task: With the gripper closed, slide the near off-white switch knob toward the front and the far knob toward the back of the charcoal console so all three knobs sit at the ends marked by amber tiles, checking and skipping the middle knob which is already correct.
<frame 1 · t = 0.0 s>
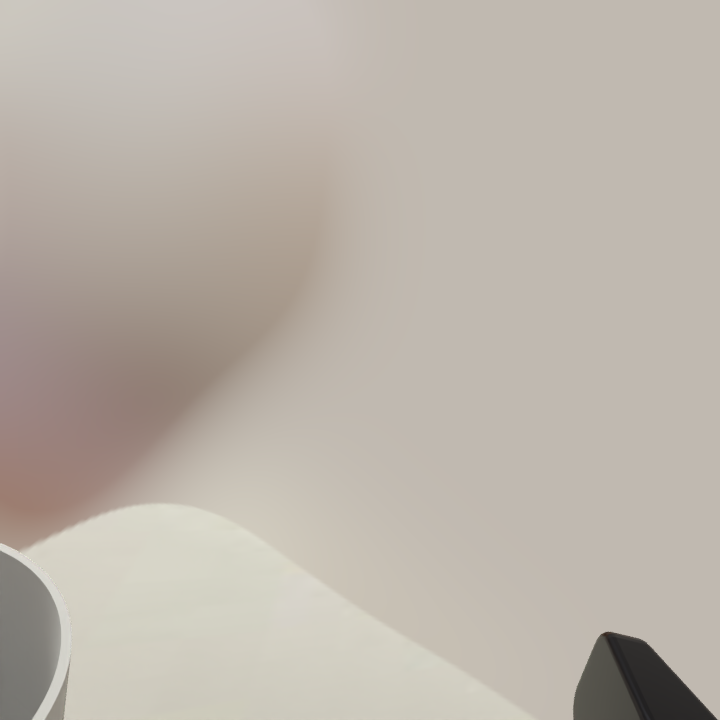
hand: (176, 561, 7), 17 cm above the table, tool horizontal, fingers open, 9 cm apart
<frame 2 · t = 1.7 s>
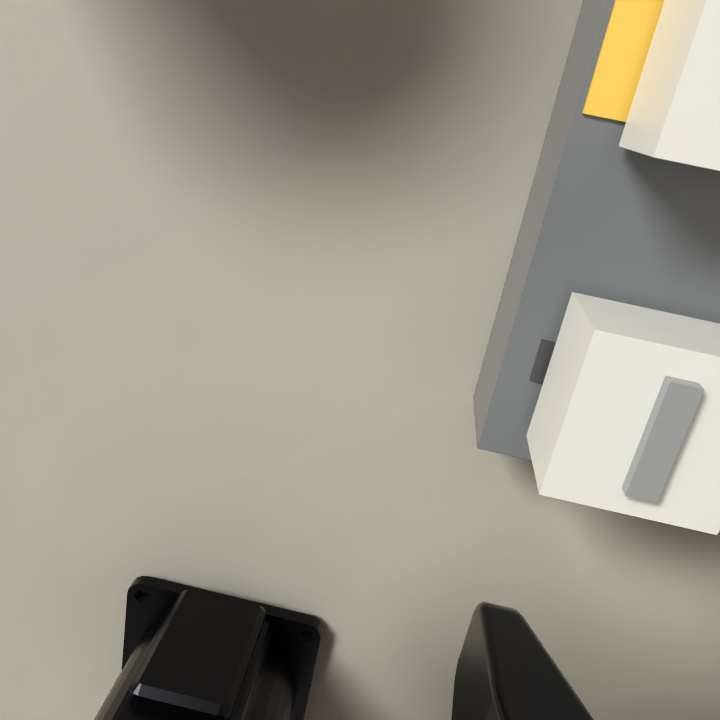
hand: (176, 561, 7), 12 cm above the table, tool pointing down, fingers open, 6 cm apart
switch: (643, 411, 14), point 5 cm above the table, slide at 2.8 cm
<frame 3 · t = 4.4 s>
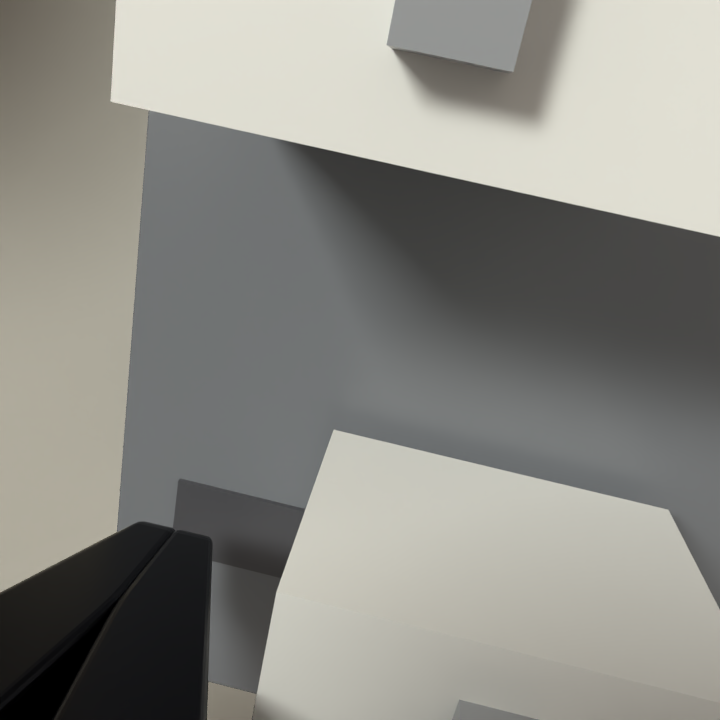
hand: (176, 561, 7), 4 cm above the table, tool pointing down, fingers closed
console: (705, 22, 8), on the table
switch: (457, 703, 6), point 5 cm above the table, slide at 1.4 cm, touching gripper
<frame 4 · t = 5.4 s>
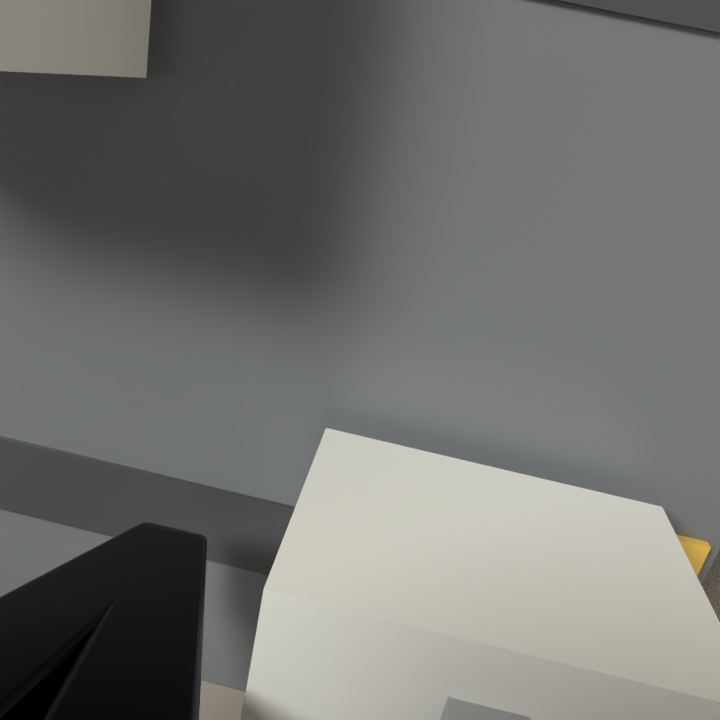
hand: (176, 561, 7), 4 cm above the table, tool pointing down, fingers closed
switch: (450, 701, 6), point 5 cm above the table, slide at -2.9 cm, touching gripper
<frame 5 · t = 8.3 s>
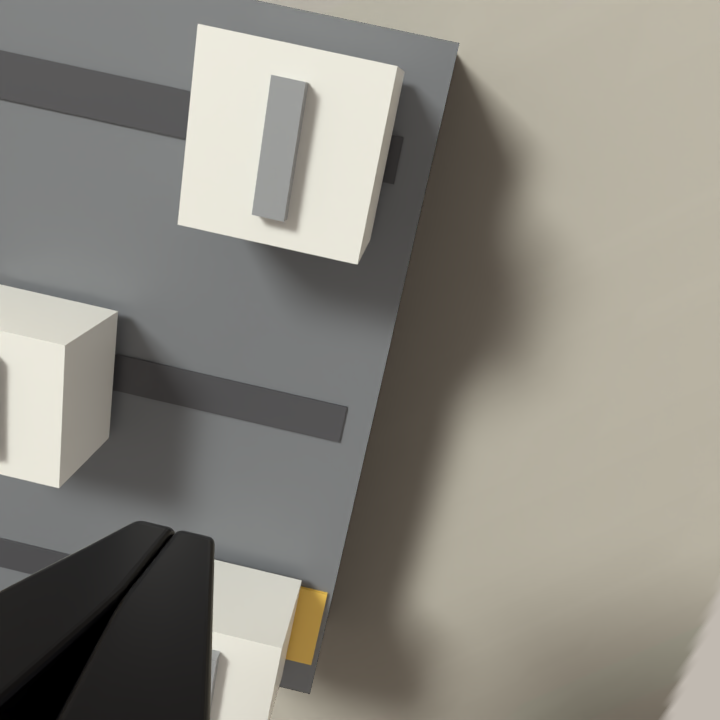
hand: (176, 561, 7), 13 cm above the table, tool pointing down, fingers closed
console: (197, 343, 20), on the table
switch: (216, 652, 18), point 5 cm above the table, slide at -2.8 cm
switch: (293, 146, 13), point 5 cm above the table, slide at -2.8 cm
switch middle: (13, 382, 16), point 5 cm above the table, slide at 2.8 cm
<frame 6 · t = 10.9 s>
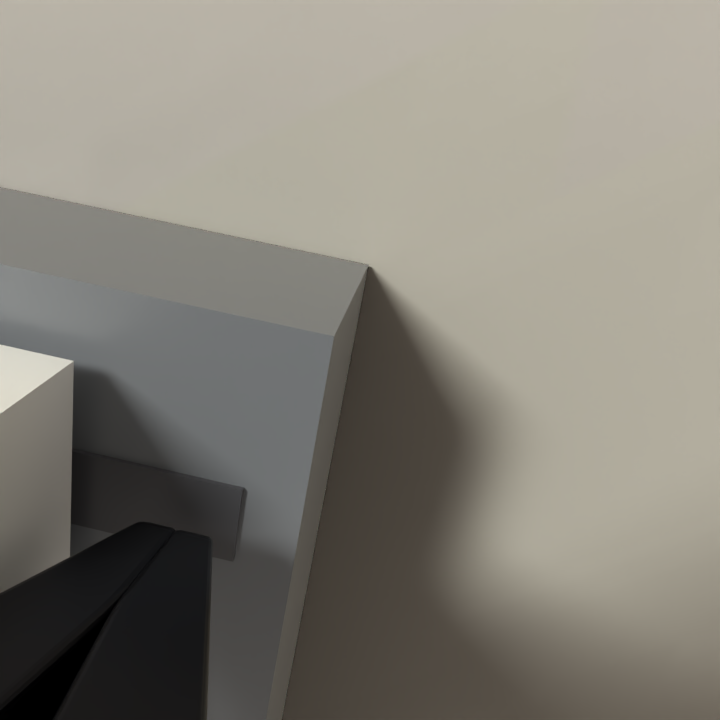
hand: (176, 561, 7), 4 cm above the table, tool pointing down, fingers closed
console: (8, 650, 13), on the table
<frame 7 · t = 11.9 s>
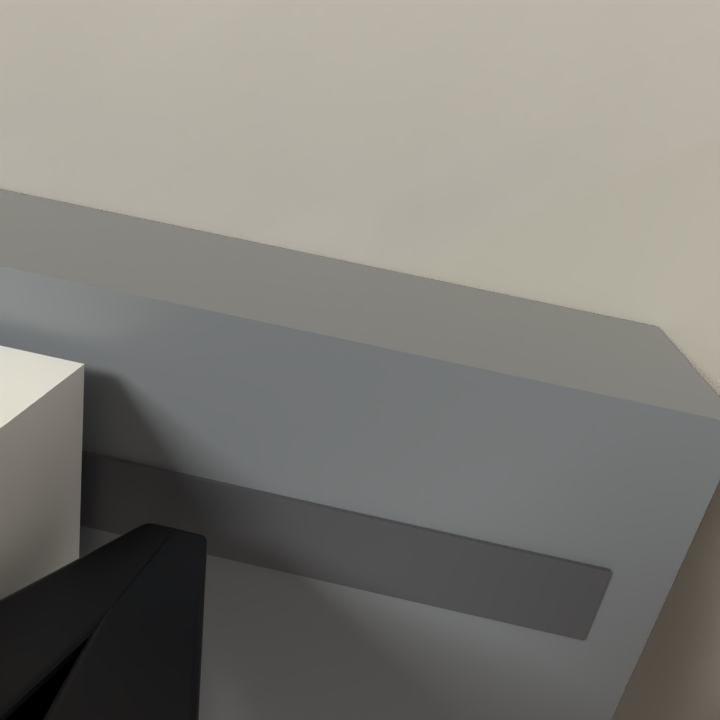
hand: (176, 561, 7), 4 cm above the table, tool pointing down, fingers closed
console: (213, 699, 13), on the table
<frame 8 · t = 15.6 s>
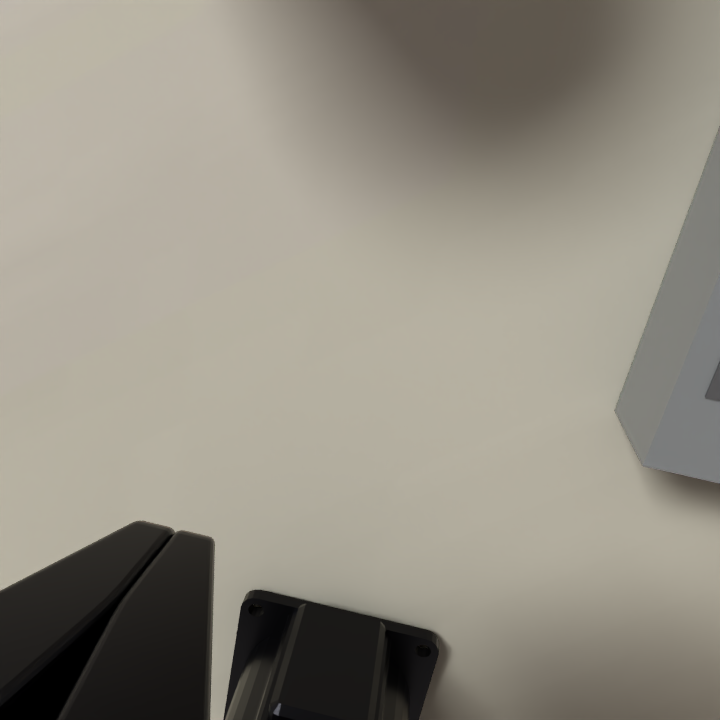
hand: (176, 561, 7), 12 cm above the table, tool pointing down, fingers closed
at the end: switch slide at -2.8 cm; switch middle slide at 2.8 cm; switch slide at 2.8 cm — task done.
